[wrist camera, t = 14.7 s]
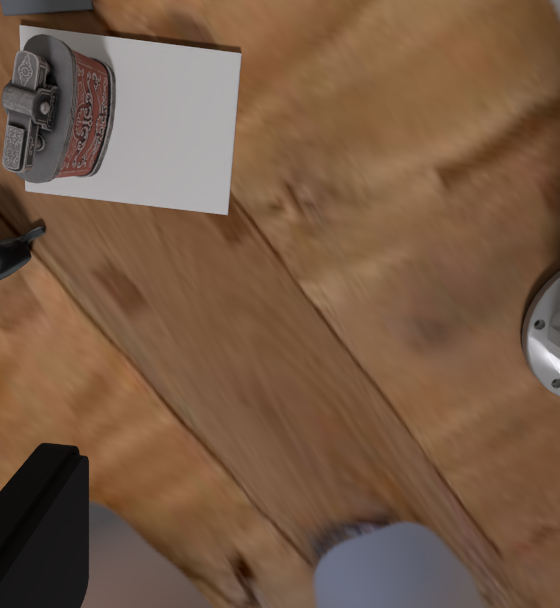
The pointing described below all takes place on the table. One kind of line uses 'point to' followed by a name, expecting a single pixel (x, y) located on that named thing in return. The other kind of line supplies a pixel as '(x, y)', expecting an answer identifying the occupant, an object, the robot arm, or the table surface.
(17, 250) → the dark elongated piece
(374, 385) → the table surface
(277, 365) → the table surface
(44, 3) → the plate
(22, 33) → the paper
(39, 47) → the lighter
